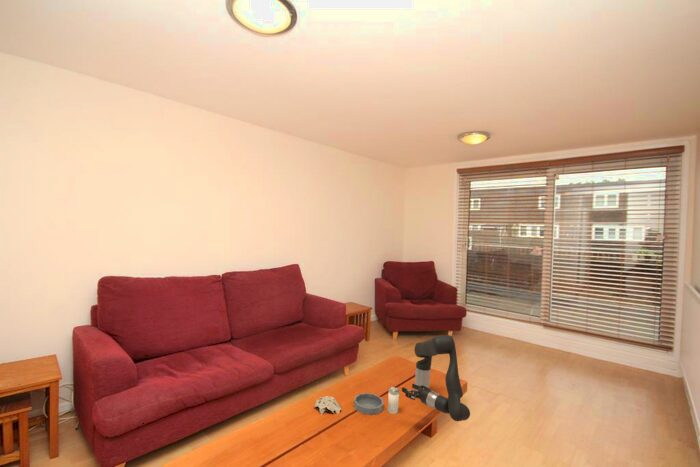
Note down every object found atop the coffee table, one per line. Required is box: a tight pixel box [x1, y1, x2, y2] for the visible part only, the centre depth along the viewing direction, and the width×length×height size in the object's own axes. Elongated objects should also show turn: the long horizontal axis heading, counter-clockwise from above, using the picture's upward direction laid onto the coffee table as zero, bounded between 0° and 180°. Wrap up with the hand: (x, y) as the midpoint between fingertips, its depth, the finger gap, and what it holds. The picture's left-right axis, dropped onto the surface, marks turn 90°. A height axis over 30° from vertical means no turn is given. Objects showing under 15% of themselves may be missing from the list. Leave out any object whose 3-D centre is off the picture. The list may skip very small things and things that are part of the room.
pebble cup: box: [387, 386, 400, 415], centre depth 190 cm, size 6×6×14 cm
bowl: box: [353, 392, 384, 416], centre depth 194 cm, size 17×17×4 cm
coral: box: [314, 395, 342, 415], centre depth 189 cm, size 15×12×5 cm
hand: (407, 387), depth 183 cm, fingers open, 8 cm apart
